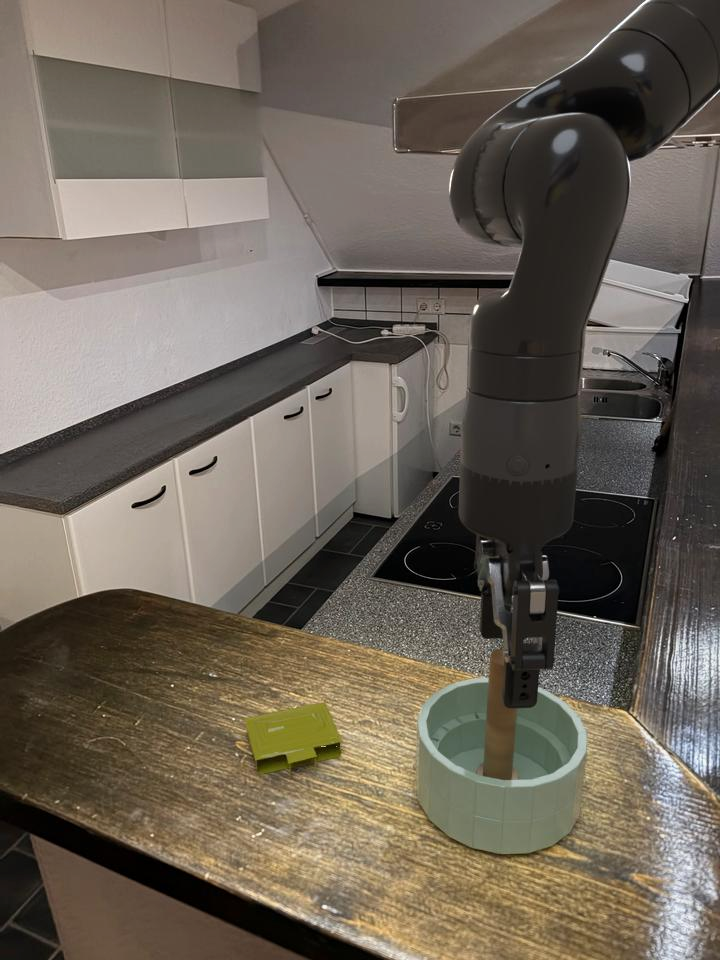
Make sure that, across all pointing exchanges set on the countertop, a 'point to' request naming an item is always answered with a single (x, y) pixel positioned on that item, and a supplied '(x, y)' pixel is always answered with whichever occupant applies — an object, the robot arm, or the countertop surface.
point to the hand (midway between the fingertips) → (505, 667)
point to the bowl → (494, 802)
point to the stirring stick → (498, 727)
